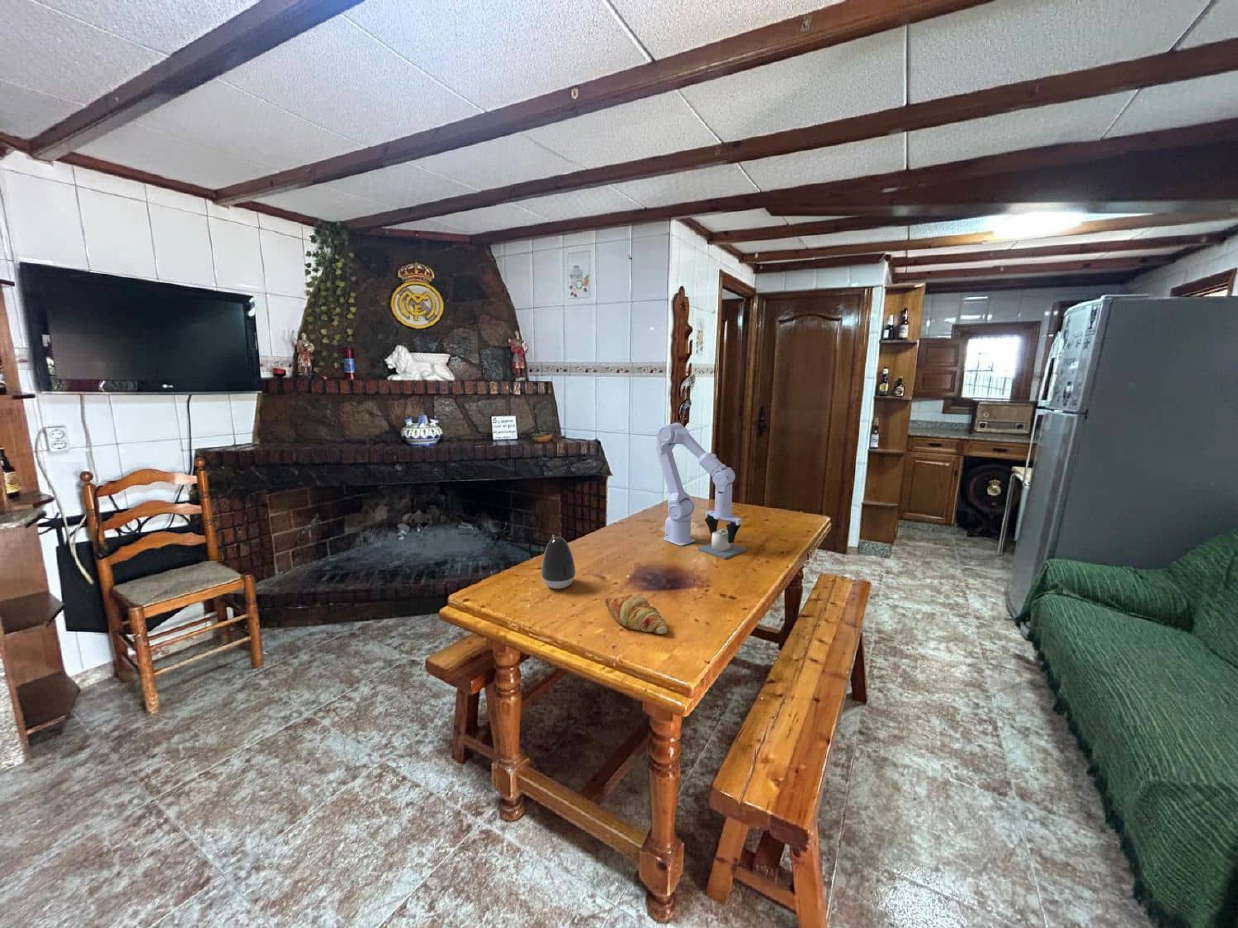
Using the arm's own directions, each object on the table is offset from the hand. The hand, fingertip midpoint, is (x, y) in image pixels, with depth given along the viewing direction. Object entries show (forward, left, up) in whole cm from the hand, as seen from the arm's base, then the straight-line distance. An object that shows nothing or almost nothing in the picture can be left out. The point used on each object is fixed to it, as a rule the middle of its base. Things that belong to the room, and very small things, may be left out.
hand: (722, 539), depth 177 cm
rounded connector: (0, 0, -3) cm, 3 cm away
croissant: (+16, -57, -4) cm, 59 cm away
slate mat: (0, 0, -4) cm, 4 cm away
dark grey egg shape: (-15, -59, -4) cm, 61 cm away
